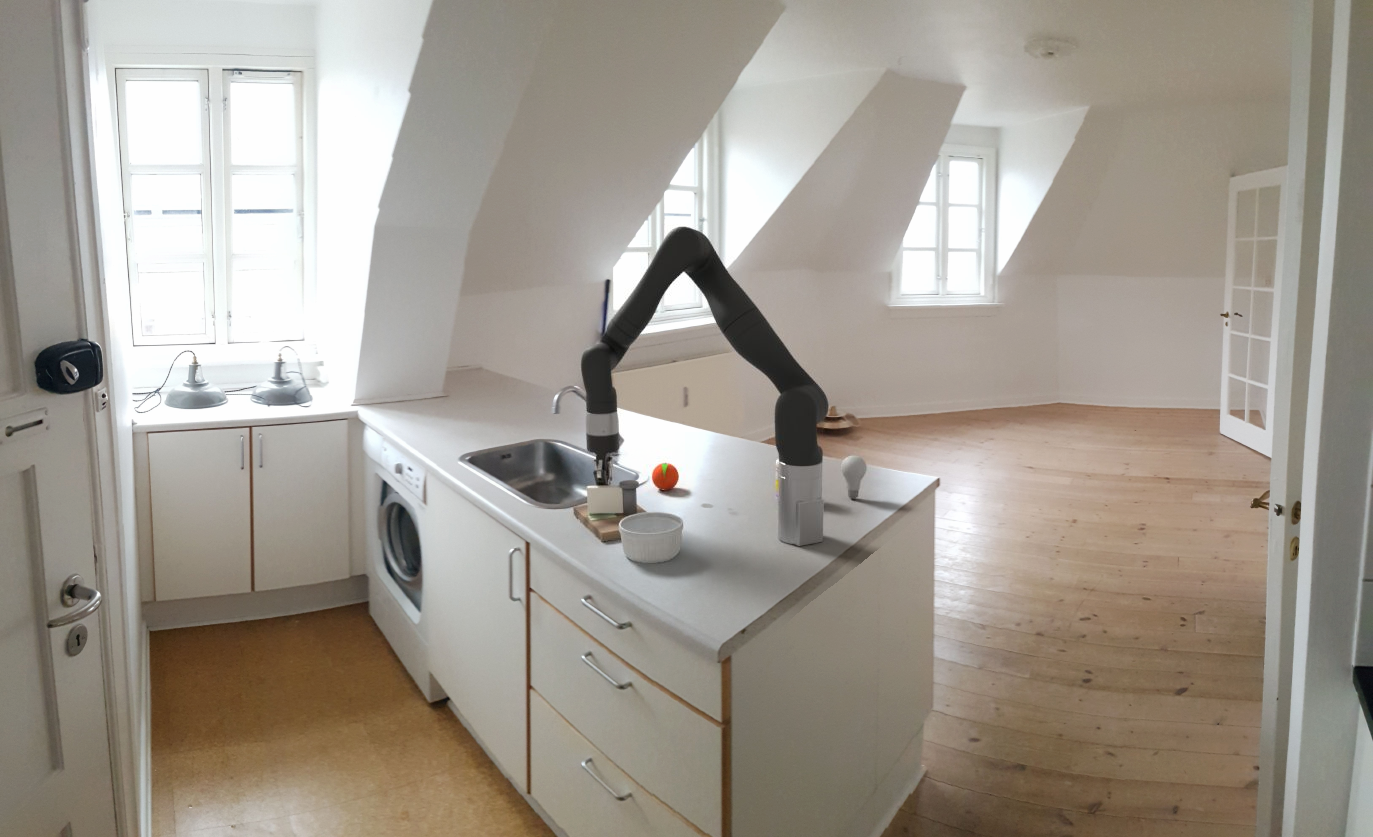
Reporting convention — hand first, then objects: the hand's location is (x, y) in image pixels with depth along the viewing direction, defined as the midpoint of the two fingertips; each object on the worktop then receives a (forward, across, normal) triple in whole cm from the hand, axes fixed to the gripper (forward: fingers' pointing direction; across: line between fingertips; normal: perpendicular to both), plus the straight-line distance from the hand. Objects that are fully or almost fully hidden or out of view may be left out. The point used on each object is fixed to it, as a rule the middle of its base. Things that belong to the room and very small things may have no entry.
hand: (604, 502), depth 202 cm
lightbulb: (+3, +14, -59) cm, 61 cm away
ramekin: (+3, -24, -14) cm, 28 cm away
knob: (+1, -5, -3) cm, 6 cm away
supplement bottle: (+3, +14, -43) cm, 45 cm away
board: (+3, -6, -4) cm, 7 cm away
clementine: (+3, +20, -12) cm, 24 cm away
